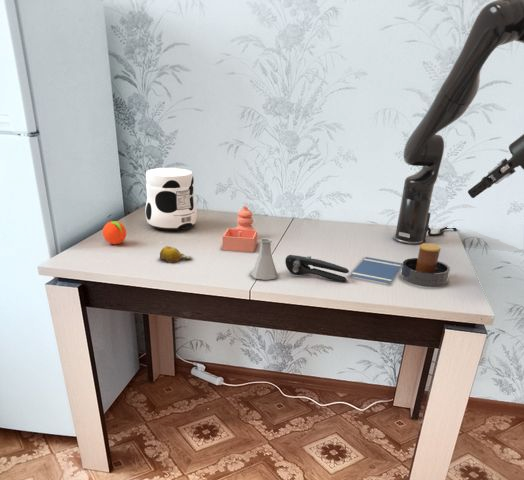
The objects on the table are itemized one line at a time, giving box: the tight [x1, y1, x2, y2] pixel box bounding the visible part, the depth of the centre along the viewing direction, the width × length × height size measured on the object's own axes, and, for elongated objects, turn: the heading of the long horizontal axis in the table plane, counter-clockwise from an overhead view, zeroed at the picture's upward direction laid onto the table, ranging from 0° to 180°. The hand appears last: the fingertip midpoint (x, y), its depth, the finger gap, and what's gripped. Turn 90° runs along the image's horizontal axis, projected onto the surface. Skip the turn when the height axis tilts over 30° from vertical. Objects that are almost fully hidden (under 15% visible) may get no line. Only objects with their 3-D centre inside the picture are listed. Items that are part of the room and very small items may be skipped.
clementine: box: [102, 220, 127, 245], centre depth 153 cm, size 8×7×7 cm
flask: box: [250, 237, 278, 281], centre depth 134 cm, size 7×7×10 cm
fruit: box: [159, 245, 191, 263], centre depth 144 cm, size 8×8×4 cm
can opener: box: [285, 254, 350, 283], centre depth 136 cm, size 18×7×6 cm, turn 70°
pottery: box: [222, 205, 258, 253], centre depth 159 cm, size 18×10×10 cm, turn 173°
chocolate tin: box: [415, 242, 442, 273], centre depth 137 cm, size 5×5×9 cm
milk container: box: [144, 167, 198, 231], centre depth 169 cm, size 17×17×18 cm
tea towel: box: [349, 256, 403, 285], centre depth 143 cm, size 18×11×1 cm, turn 155°
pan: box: [400, 257, 451, 288], centre depth 138 cm, size 12×12×4 cm
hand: (473, 192), depth 123 cm, fingers open, 8 cm apart
